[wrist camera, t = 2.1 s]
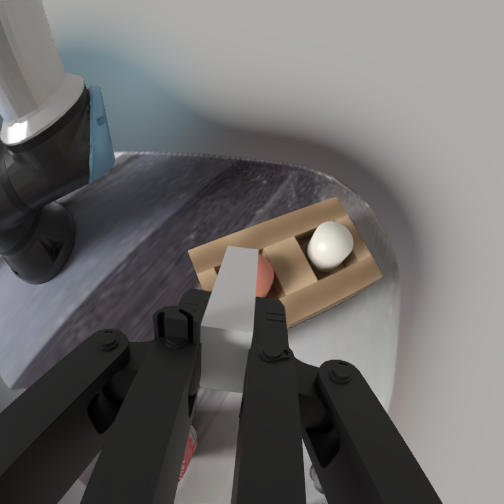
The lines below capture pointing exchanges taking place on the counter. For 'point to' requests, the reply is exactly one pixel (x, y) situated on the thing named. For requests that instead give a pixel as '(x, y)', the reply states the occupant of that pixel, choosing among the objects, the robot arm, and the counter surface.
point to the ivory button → (329, 246)
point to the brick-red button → (264, 276)
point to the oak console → (296, 261)
